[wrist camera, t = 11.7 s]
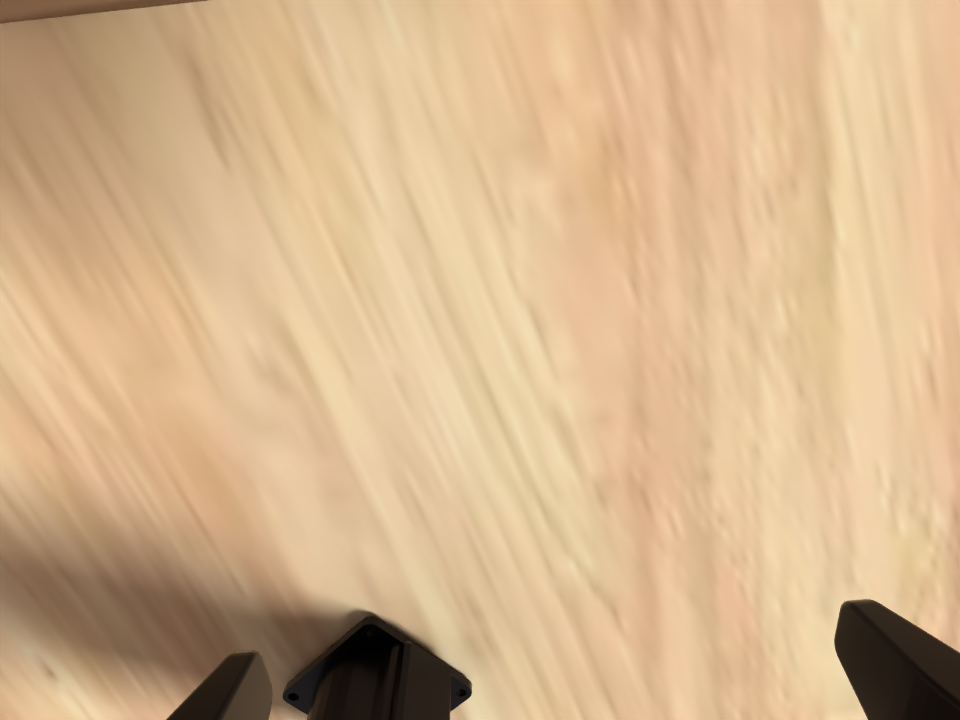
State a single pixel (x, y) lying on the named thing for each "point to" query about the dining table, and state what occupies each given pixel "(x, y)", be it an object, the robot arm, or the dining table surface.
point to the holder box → (70, 7)
